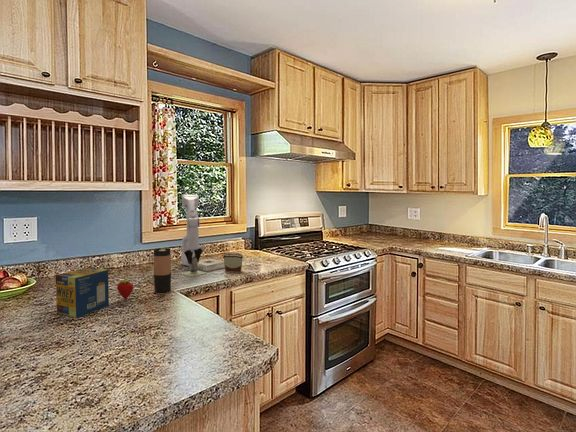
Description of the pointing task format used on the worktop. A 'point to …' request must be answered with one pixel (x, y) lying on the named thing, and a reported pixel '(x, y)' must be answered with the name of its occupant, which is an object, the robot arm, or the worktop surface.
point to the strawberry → (125, 288)
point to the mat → (193, 273)
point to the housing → (210, 264)
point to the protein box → (82, 291)
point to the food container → (233, 262)
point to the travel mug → (162, 270)
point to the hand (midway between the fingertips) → (193, 262)
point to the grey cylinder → (194, 265)
